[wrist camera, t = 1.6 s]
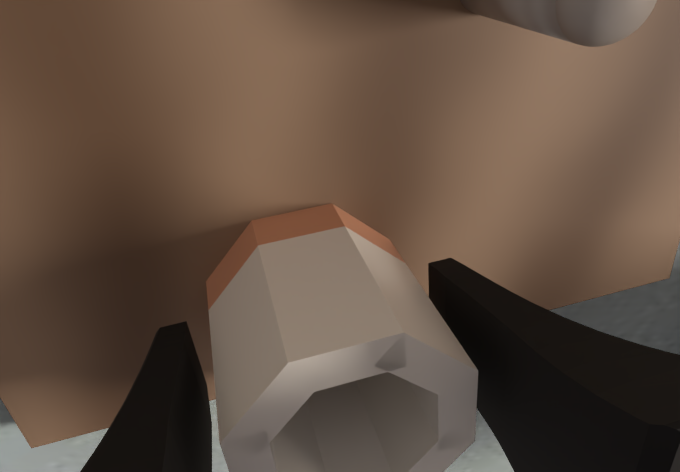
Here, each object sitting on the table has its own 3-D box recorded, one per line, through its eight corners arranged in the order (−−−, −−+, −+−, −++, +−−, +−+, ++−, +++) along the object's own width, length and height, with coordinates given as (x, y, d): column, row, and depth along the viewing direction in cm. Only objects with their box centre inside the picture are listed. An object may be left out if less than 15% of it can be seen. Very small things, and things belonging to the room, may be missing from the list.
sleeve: (233, 378, 15) (255, 552, 11) (192, 233, 13) (199, 385, 8) (395, 335, 16) (473, 482, 12) (386, 191, 13) (481, 312, 9)
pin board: (39, 419, 15) (-18, 626, 11) (-326, -208, 8) (-962, -374, 4) (647, 262, 19) (797, 369, 14) (777, -282, 11) (1172, -416, 7)
